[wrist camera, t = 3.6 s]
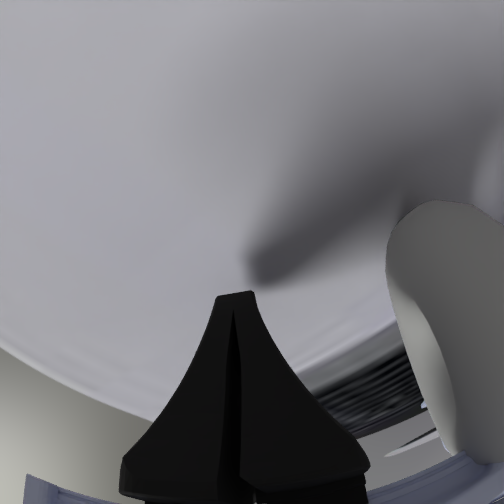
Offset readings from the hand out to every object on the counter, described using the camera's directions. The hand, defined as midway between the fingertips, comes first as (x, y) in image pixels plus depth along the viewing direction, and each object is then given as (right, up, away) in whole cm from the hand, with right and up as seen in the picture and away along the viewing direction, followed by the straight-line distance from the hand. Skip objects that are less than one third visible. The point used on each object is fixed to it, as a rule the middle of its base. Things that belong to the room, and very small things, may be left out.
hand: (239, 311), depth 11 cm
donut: (+7, +2, +1) cm, 8 cm away
